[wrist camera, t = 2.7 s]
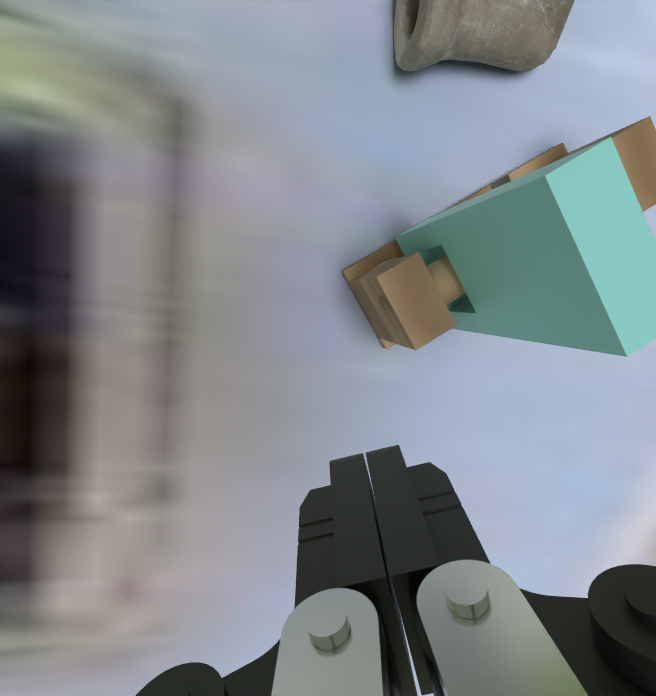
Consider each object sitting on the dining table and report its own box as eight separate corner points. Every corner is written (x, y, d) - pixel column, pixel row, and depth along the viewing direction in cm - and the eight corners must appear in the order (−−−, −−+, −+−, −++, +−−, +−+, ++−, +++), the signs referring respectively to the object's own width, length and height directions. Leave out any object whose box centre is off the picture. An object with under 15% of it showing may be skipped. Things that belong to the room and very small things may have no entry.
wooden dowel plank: (383, 347, 33) (424, 363, 25) (341, 271, 32) (370, 263, 24) (589, 223, 34) (688, 201, 27) (555, 146, 33) (648, 100, 26)
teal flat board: (442, 326, 31) (627, 356, 16) (394, 237, 30) (544, 175, 15) (474, 307, 31) (687, 318, 16) (428, 217, 30) (610, 136, 15)
